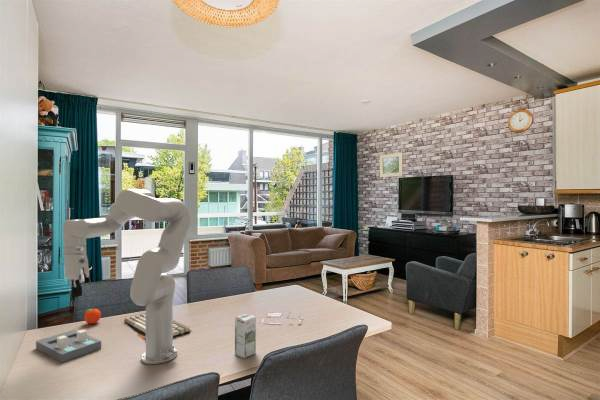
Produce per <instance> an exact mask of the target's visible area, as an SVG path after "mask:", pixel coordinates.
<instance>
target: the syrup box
mask: <svg viewBox="0 0 600 400" xmlns="http://www.w3.org/2000/svg"><path fill="white" fill-rule="evenodd" d="M256 321H257V317H256V316H254V315H252V314H250V313H245V314H241V315H239V316H236V317H235V319H234V355H235V356H238V357H240V358H242V359H246V358H249V357H251V356H253V355H255V354H256V349H257V347H256V341H257V340H256V338H257V337H256V336H257V332H256V331H257V322H256Z"/></svg>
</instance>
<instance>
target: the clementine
mask: <svg viewBox="0 0 600 400" xmlns="http://www.w3.org/2000/svg"><path fill="white" fill-rule="evenodd" d="M84 313H85V314H84ZM82 314H84V316H83V319H84V321H85V322H86V324H90V325H94V324H96V323H98V322H99V321H100V320H101V317H102V312H101V310H99V308H89V309H86V310H85V311H84V312H83V313H82Z"/></svg>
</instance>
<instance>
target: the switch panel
mask: <svg viewBox="0 0 600 400" xmlns="http://www.w3.org/2000/svg"><path fill="white" fill-rule="evenodd" d="M77 331H78V330H77V329H72V330H69V331H66V332H61V333H58V334H56V335H51V336H49V337H45V338H41V339H39V340H36V341H35V349H36V350H38V351H40V352H41V353H44V354H45V355H47V356H49V357H51V358H53V359H54V360H56V361H58V362H60V363H65V362H68V361H70V360H73V359H77V358H79V357H81V356H84V355H87V354H90V353H92V352H96V351H98V350H100V349H102V340H100V339H98V338H95V337H93V336H90V335H88V334H87V339H88V341H85V342H82V343H80V342H78V341H75V340H77ZM63 335H64V336H67V337H68V346H69V347H67V348H64V349H59V348H57V347H56V346H57V337H60V336H63Z"/></svg>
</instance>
